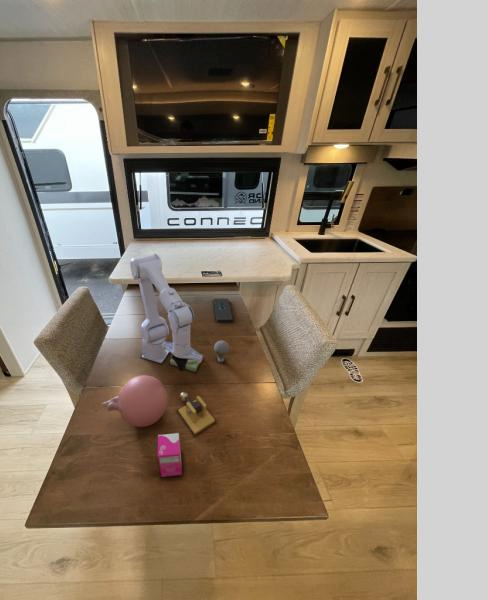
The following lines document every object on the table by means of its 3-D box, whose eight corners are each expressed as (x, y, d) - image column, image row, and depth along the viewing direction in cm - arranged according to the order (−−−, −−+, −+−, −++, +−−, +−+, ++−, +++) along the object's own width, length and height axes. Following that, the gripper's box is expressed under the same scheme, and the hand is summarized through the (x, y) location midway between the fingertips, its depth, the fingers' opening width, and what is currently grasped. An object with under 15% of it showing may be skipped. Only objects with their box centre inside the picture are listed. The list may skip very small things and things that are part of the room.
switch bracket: (178, 411, 90) (177, 398, 86) (197, 400, 93) (197, 387, 90) (194, 435, 83) (194, 422, 79) (214, 422, 86) (215, 409, 83)
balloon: (109, 401, 93) (101, 370, 85) (166, 392, 96) (163, 362, 88) (105, 443, 80) (95, 412, 72) (170, 432, 83) (168, 401, 75)
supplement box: (160, 456, 77) (158, 433, 71) (180, 454, 78) (180, 432, 71) (160, 478, 72) (157, 456, 66) (182, 476, 73) (181, 454, 67)
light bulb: (227, 366, 107) (229, 348, 102) (212, 364, 108) (213, 346, 103) (228, 356, 112) (230, 338, 106) (214, 354, 113) (215, 336, 108)
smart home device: (228, 298, 148) (233, 319, 131) (227, 300, 149) (233, 322, 132) (213, 298, 148) (216, 319, 131) (213, 300, 149) (216, 322, 132)
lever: (179, 400, 93) (177, 392, 92) (186, 396, 94) (184, 389, 94) (195, 415, 84) (193, 408, 83) (203, 411, 85) (201, 403, 84)
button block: (170, 364, 108) (169, 357, 106) (178, 351, 114) (178, 344, 112) (195, 372, 104) (195, 365, 102) (202, 358, 111) (202, 351, 109)
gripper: (207, 339, 85) (205, 368, 92) (168, 326, 91) (170, 355, 98) (197, 352, 80) (196, 383, 87) (157, 338, 85) (160, 367, 93)
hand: (182, 369), depth 92 cm, fingers closed
